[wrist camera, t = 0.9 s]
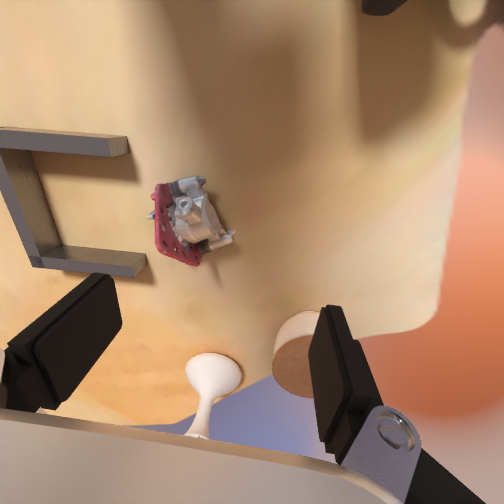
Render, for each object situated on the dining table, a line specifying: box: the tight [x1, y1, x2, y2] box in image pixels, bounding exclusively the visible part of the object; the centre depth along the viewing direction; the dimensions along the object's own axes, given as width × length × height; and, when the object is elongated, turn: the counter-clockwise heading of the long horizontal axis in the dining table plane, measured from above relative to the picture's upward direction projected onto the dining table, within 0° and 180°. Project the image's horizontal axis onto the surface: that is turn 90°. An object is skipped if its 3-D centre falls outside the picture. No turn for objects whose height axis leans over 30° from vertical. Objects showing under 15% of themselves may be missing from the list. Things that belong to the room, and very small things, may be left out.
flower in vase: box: [183, 353, 242, 440], centre depth 40 cm, size 13×11×25 cm
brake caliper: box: [147, 176, 236, 266], centre depth 32 cm, size 11×11×12 cm
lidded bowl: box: [272, 311, 320, 398], centre depth 38 cm, size 13×13×11 cm
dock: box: [0, 127, 147, 278], centre depth 34 cm, size 19×16×4 cm
